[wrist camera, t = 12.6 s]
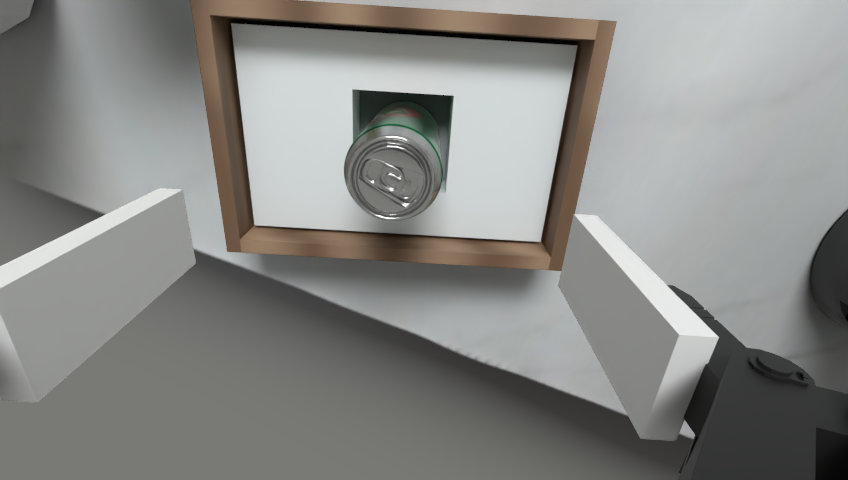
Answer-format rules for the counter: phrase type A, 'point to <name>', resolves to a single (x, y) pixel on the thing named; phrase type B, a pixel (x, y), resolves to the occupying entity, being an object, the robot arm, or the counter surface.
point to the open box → (236, 3)
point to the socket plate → (408, 73)
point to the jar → (13, 12)
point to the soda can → (395, 163)
